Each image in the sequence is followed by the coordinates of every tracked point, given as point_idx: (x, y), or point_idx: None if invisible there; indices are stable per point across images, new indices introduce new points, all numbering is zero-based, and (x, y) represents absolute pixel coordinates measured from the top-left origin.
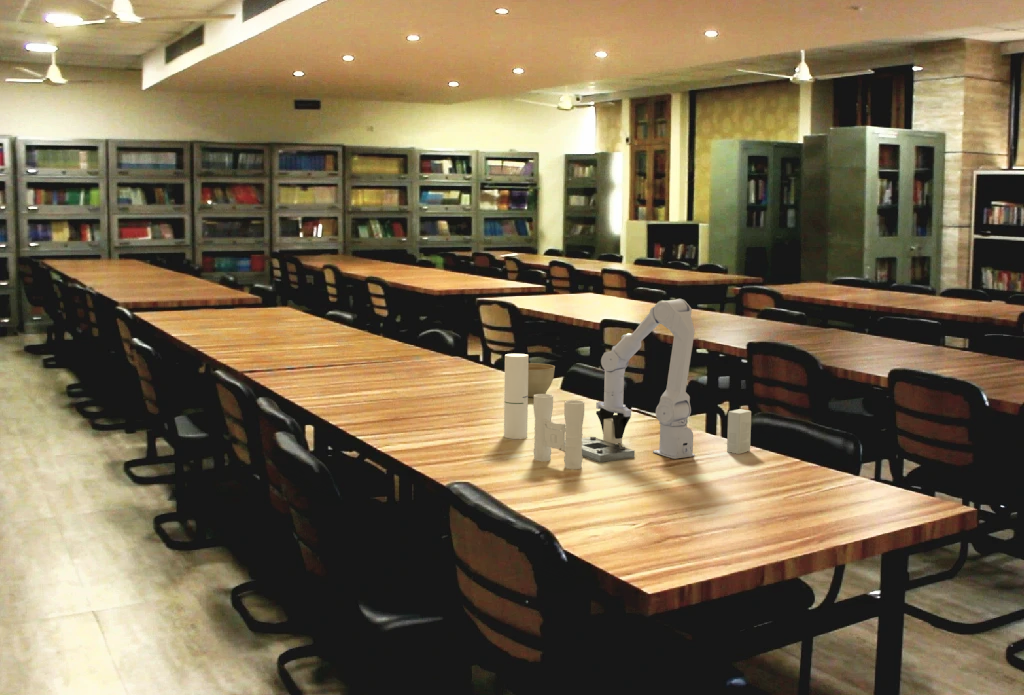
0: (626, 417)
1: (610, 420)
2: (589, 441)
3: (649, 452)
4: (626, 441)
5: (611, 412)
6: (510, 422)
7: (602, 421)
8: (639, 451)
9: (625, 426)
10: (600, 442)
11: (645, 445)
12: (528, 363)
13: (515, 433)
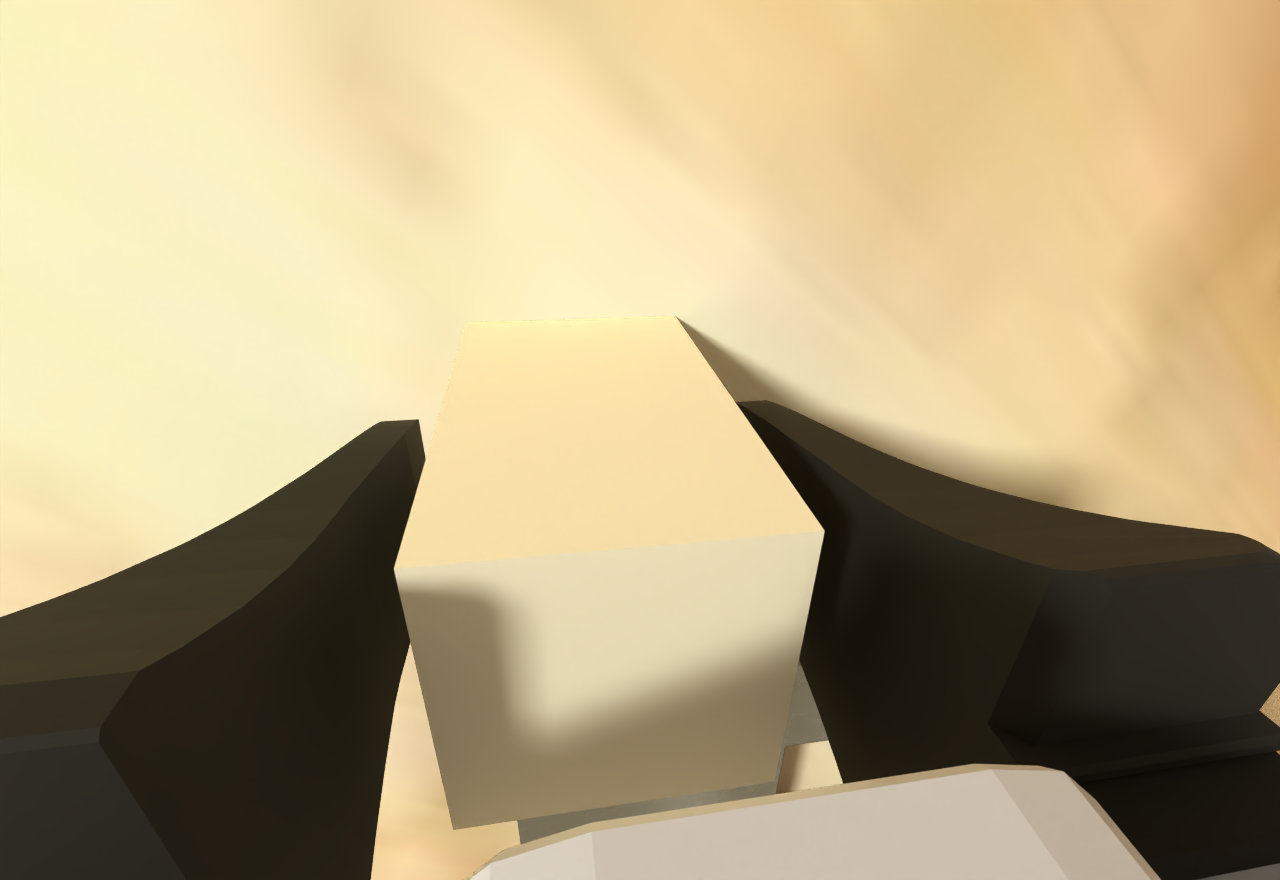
0: (1209, 703)
1: (673, 771)
2: (696, 794)
3: (1234, 310)
4: (616, 171)
5: (219, 776)
6: None
7: (383, 753)
8: (1115, 385)
9: (924, 478)
10: (798, 732)
11: (1003, 68)
12: None
13: None
